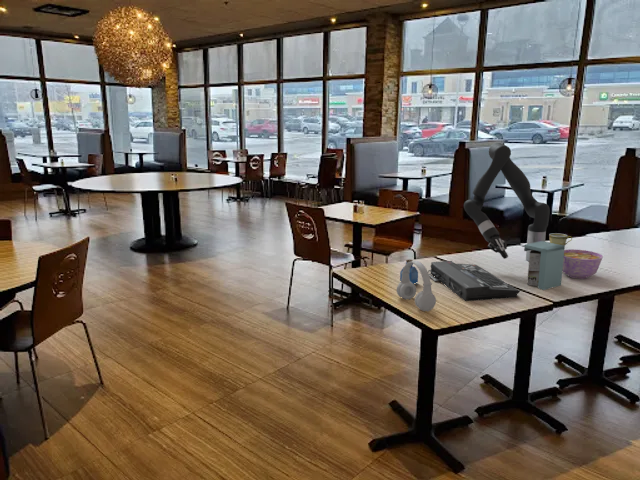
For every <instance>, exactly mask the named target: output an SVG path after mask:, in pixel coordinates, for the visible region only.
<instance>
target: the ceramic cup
mask: <svg viewBox="0 0 640 480" xmlns="http://www.w3.org/2000/svg"><path fill="white" fill-rule="evenodd" d="M548 237H549V243H554V244H559V245H563V246H565V247H566V245H567V244H569V242H571V241H573V237H572V236H570V235H568V234H566V233H565V234H564V233H557V232H555V233H549V234H548ZM568 238H571V239H570V240H568ZM567 240H568V241H567Z"/></svg>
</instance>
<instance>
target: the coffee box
mask: <svg viewBox="0 0 640 480" xmlns="http://www.w3.org/2000/svg"><path fill="white" fill-rule="evenodd" d="M540 258H541V251H537V250H531V252H530V256H529V261H528V269H527V280H526V281H527V282H526V285H528V286H534V287H538V282H539V270H540Z"/></svg>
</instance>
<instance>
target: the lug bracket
mask: <svg viewBox="0 0 640 480" xmlns="http://www.w3.org/2000/svg"><path fill="white" fill-rule="evenodd" d="M565 247H566V245H565V246H563V245H559V244H554V243H550V241H549V242H548V241H545V242H544V241H540V242H535V243H530V244H527V243H525V244H524V247H523V248H524V249H523V250H524V252H526V251H529V250H537V251H541V258H540V270H539V282H538V286H537V289H539V290H541V289H542V291H546V290H549V289H552V287H553V288H556V286H557V287H559V286H562V280H563V279H562V277H563V271H562V270H563V259H564V250H566V249H565Z"/></svg>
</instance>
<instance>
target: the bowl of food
mask: <svg viewBox="0 0 640 480" xmlns="http://www.w3.org/2000/svg"><path fill="white" fill-rule="evenodd" d="M603 257H604V256H603V255H602V254H600V253H599V252H595V251H592V250H586V249H585V250H584V249H564V259H563V270H562V273H564V274H565V275H567V276H569V277H570V278H573V279H580V280H581V279H587V278H590V277H592V276H594V275H596V273H597V272H598V270H599V267H600V265H601V262H602V261H603Z"/></svg>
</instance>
